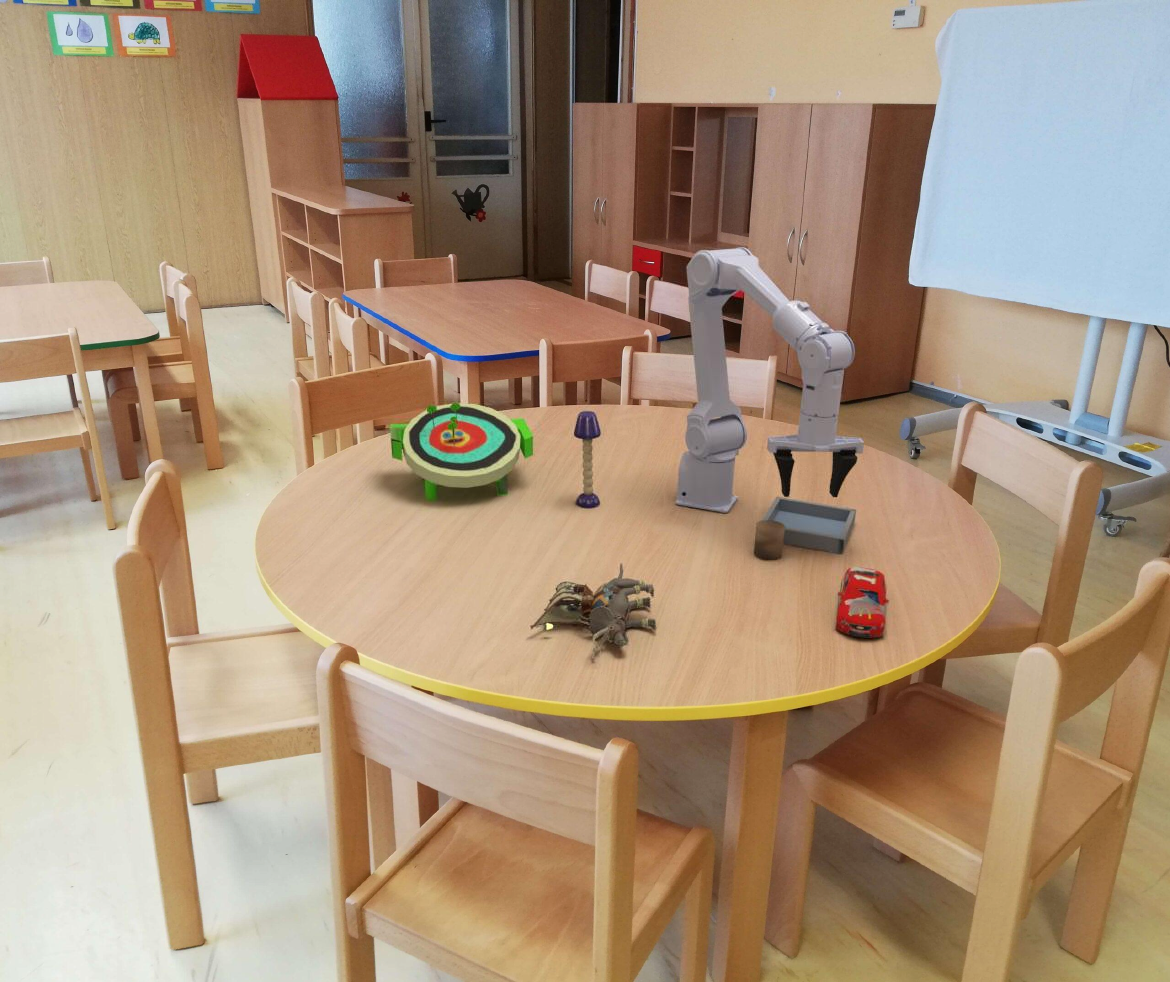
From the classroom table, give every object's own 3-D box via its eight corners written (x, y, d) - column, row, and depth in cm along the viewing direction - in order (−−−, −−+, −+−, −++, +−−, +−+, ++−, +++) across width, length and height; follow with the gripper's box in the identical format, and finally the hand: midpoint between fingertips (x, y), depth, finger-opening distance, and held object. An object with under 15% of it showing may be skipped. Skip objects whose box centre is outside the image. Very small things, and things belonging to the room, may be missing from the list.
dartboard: (395, 512, 160) (390, 422, 154) (392, 474, 177) (388, 392, 171) (539, 503, 165) (540, 416, 160) (523, 467, 182) (523, 387, 176)
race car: (883, 647, 123) (888, 614, 121) (830, 638, 125) (835, 605, 123) (888, 592, 137) (893, 562, 135) (841, 584, 139) (845, 555, 137)
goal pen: (757, 538, 153) (759, 524, 152) (775, 509, 165) (776, 496, 164) (842, 554, 148) (844, 539, 148) (854, 523, 160) (856, 509, 159)
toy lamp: (575, 509, 163) (577, 417, 157) (570, 499, 167) (572, 409, 161) (602, 507, 164) (605, 416, 158) (596, 497, 168) (599, 408, 162)
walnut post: (750, 557, 147) (753, 528, 145) (757, 546, 150) (759, 518, 149) (778, 562, 145) (781, 533, 143) (784, 551, 149) (787, 523, 147)
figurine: (667, 628, 116) (530, 632, 114) (664, 668, 118) (531, 673, 117) (646, 550, 134) (527, 552, 132) (644, 586, 136) (528, 589, 135)
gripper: (778, 419, 139) (769, 504, 144) (874, 420, 139) (862, 504, 144) (767, 405, 145) (759, 487, 150) (859, 406, 146) (848, 487, 151)
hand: (809, 494), depth 148 cm, fingers open, 7 cm apart
